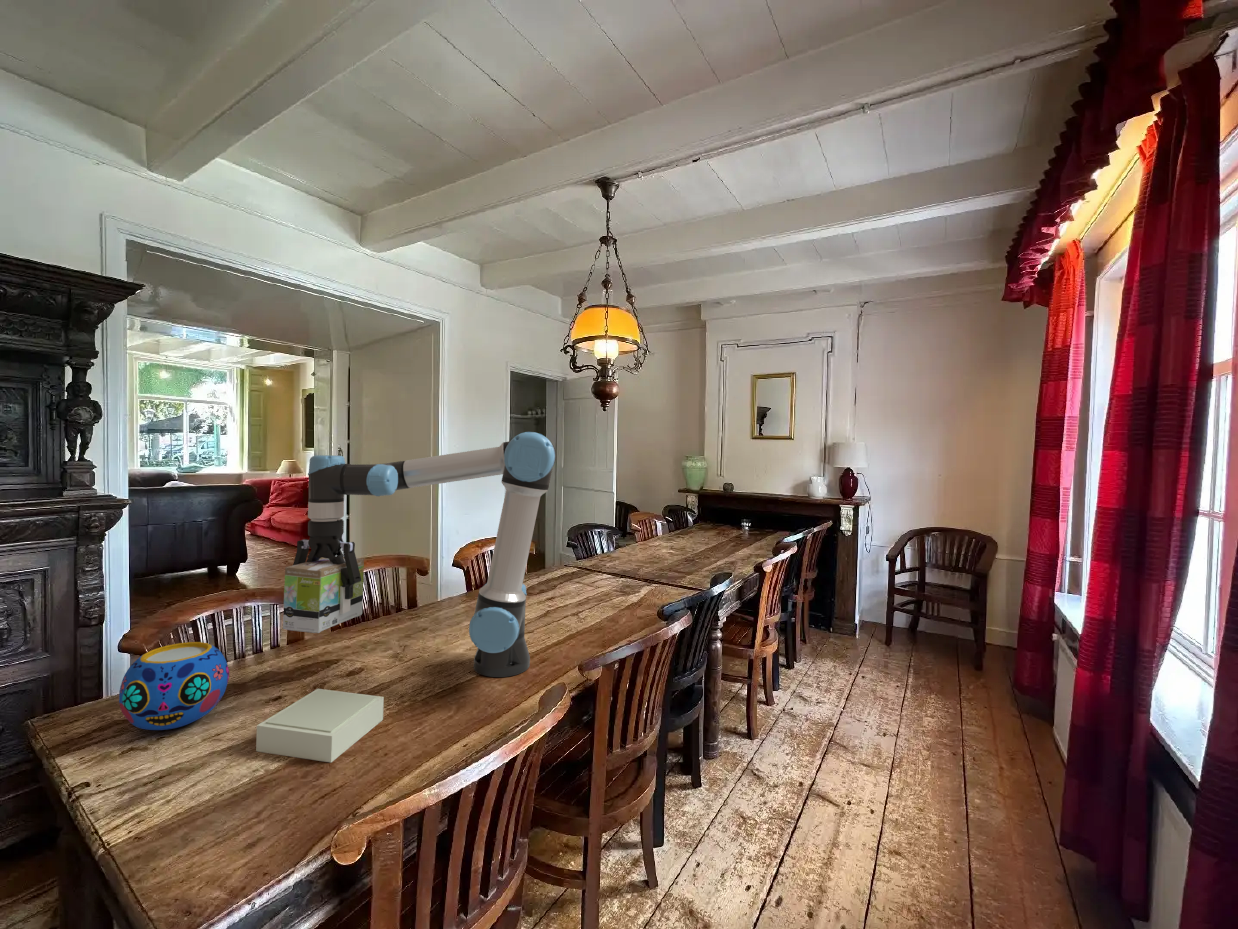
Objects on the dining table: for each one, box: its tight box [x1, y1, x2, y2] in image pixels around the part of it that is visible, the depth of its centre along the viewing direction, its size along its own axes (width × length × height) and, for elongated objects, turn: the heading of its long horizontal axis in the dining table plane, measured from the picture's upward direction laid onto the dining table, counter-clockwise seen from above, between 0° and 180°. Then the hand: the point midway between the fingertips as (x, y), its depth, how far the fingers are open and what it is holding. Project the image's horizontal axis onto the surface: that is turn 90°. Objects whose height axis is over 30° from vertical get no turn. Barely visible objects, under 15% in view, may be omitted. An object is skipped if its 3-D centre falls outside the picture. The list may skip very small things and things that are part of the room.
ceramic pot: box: [118, 641, 230, 731], centre depth 108 cm, size 18×18×15 cm
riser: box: [255, 688, 385, 763], centre depth 106 cm, size 16×16×5 cm
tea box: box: [282, 555, 365, 634], centre depth 126 cm, size 15×10×15 cm, turn 169°
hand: (325, 610), depth 126 cm, fingers closed on tea box, 10 cm apart
